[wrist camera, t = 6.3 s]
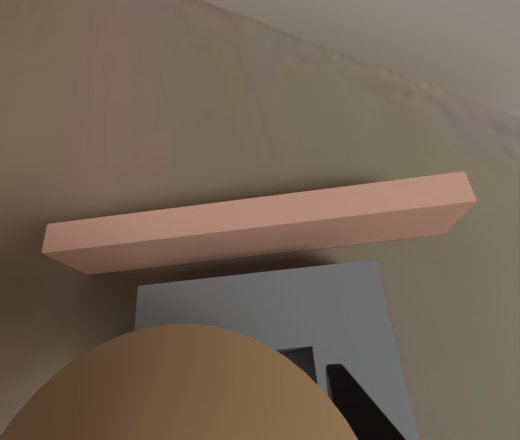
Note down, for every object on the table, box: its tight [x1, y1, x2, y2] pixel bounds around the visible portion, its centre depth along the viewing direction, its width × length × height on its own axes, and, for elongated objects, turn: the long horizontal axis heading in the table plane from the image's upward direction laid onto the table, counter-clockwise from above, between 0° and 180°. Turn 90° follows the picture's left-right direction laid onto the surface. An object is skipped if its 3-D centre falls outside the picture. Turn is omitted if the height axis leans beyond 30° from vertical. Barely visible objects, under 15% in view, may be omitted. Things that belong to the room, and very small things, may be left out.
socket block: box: [134, 260, 420, 440], centre depth 18 cm, size 14×14×4 cm
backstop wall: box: [41, 171, 477, 275], centre depth 22 cm, size 2×26×5 cm, turn 95°
